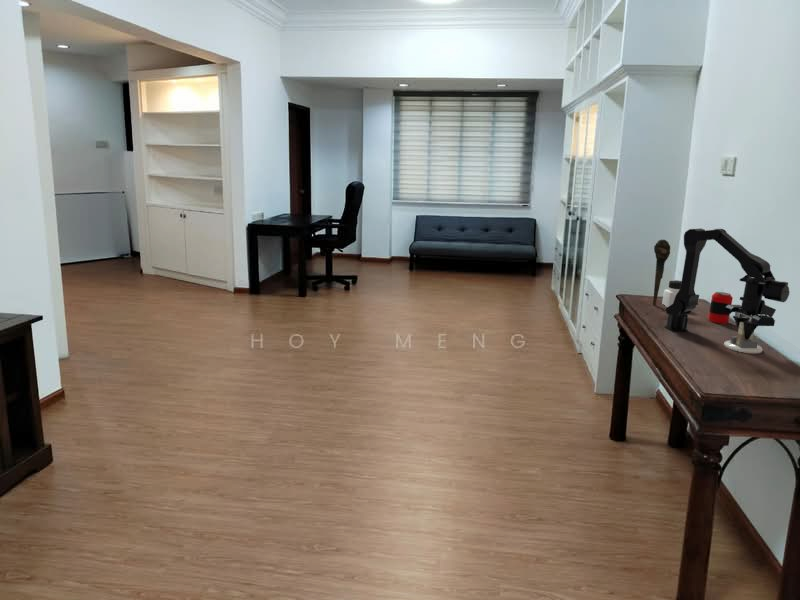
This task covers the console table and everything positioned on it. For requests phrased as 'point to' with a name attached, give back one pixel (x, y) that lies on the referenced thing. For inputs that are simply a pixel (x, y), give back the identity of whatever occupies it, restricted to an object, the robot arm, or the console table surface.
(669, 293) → the medicine bottle
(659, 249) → the decorative torch
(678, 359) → the console table surface
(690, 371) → the console table surface
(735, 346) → the dish
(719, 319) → the soda can
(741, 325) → the block
